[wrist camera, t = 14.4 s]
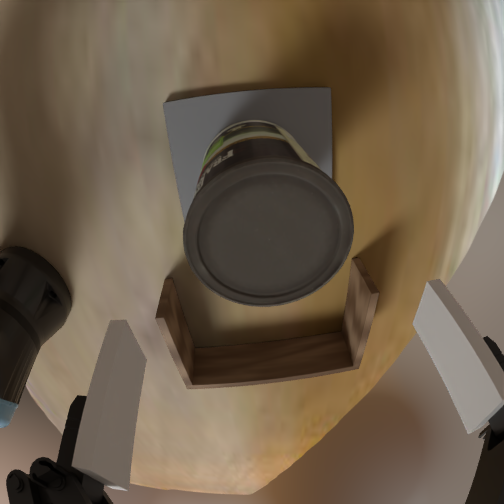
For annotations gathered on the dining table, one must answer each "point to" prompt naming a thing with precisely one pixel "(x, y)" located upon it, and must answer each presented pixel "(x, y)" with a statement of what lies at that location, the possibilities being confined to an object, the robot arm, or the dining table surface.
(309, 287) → the coffee can
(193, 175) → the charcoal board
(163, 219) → the dining table surface
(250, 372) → the walnut u-shaped frame
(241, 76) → the dining table surface
